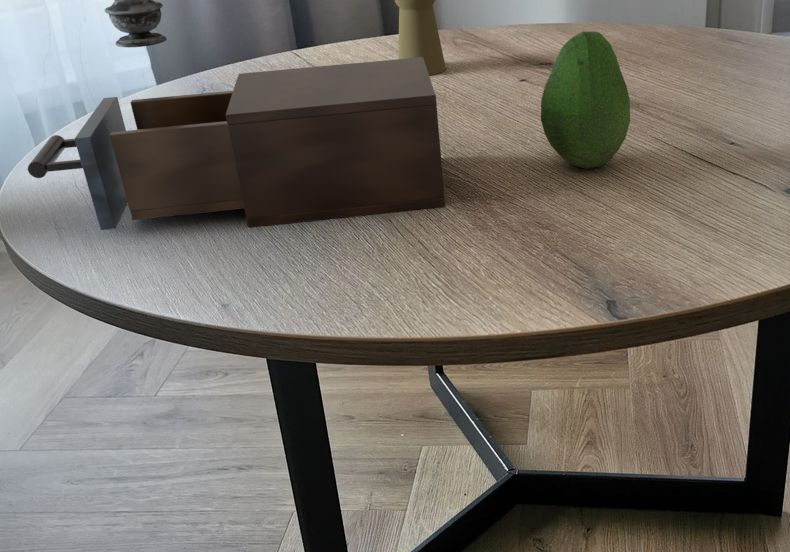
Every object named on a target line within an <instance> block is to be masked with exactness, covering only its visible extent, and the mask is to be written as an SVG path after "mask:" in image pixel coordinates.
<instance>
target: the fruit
mask: <svg viewBox="0 0 790 552" xmlns="http://www.w3.org/2000/svg"><path fill="white" fill-rule="evenodd" d="M543 87H544V88H543V92H542V96H541V99H540V104H541V105H540V121H541V126H542V129H543V133H544V135H545V138H546V139H547V142H548V143H549V145H550V147H551V148H552V149H553V150H554V151H555V152H556V153H557V154H558V155H559V156H560V157H561V158H562V159H563V160H564V161H567V162H568V163H569V164H571V165H572V166H574V167H579V168H582V169H586V170H588V169H594V168H595V169H596V168H599V167H600V168H601V167H602V166H604V165H605V164H607V163H608V162H609V161H611V160H612V159H613V158H614V157H615V155H616V153H617V152H618V151H619V150H620V148H621V147H622V145H623V144H624V142H625V140H626V137H627V134H628V131H629V127H630V123H631V99H630V98H631V97H630V94H629V91H628V86H627V83H626V81H625V78H624V75H623V73H622V71H621V67H620V64H619V62H618V58H617V56H616V53H615V51H614V49H613V46H612V44H611V43H610V41H608V40H607V39H606V38H605V36H604V35H602V33H600V32H599V31H579V32H578V33H577V34H576V35H574V36H572V37H570V38H569V39H568V40H567V42H565V44H564V45H562V47H561V49H560V51H559V53H558V55H557V57H556V58H555V60H554V64H553V67H552V70H551V72H550V74H549V76H548V79H547V81H546V82H545V84H544V86H543Z"/></svg>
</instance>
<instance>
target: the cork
mask: <svg viewBox="0 0 790 552" xmlns="http://www.w3.org/2000/svg"><path fill="white" fill-rule="evenodd" d="M394 2H395V4H396V6H397V7H398V8H399V9H398V10H399V11H398V12H399V13H398V56H397V59H407V58H418V57H423V59H424V62H425V65H426V68H427V71H428V74H429V77H431V76H434V75H438V74H442V73H443V72H445V71H446V70H447V67H446V62H445V57H444V53H443V52H444V51H443V47H442V43H441V38H440V34H439V29H438V24H437V19H436V13H435V9H434V4H435V2H436V0H394Z"/></svg>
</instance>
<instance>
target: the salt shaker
mask: <svg viewBox="0 0 790 552" xmlns="http://www.w3.org/2000/svg"><path fill="white" fill-rule="evenodd" d="M113 1H114V2H113V3H112V4H111V5H110V6H107V7H106V8H104V12H105V14H108V17H109V20H110V22H111V23H112V24H113V26H114V28H115V29H117V30H118V31H120V32H121V33H125V34H126V35H123V36H120V37H119V38H118V39H117V40H116V41H115V43H114V44H115V46H116V47H120V48H143V47H150V46H155V45H158V44H162V43H164V42H166V41H167V39H168V38H167V36H166V35H163V34H161V33H159V32H152V31H153V30H154V29H157V27H159V24H160V23H161V18H162V10H161V9H162V8H163V7H164V6H163V4H162V2H159V1H155V0H113Z"/></svg>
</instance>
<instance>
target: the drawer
mask: <svg viewBox="0 0 790 552" xmlns="http://www.w3.org/2000/svg"><path fill="white" fill-rule="evenodd" d="M232 93H233V90H226V91H225V90H223V91H214V92H203V93H191V94H181V95H171V96H160V97H151V98H148V97H147V98H139V99H132V100H131V101H130V106H131V110H132V115H133V119H134V122H135V127H136V129H130V130H127V128H126V125H125V121H124V117H123V113H122V109H121V105H120V102H119V98H118V96H111V97H104V98H103V99H102V100H101V101H100V102H99V104H97V107H96V108H95V109H94V111H93V112H92V113H91V115H90V117H88V119H87V121H86V122H85V123H84V125H83V126H82V127H81V129H80V130H79V131H78V132H77V134H76V136H75V137H74V138H66V139H65V138H64V137H63V136H61V135H59V134H53V135H52V136H50V137H49V139H48V140H47V141H46V142H45V144H44V145H43V147H42V148H41V149H40V150H39V151H38V153H36V155H35V156H34V158H33V159H31V161H30V163H29V164H28V166H27V172H28V173H29V175H30V176H31V177H33V178H36V179H42V178H44V177H46V175H47V173H48V172H57V171H58V172H59V171H68V170H81V169H82V170H83V174H84V177H85V181H86V184H87V188H88V192H89V196H90V198H91V201H92V206H93V208H94V212H95V215H96V219H97V223H98V226H99V229H100V231H105V230H115V229H116V228H117V226H118V224H119V222H120V220H121V217H122V216H123V214H124V212H125V209H126V208H127V206H128V210H129V212H130V216H131V219H132V221H136V220H147V219H156V218H157V219H158V218H165V217H166V218H167V217H174V216H175V217H176V216H184V215H185V216H186V215H195V214H204V213H213V212H222V211H223V212H225V211H232V210H233V211H234V210H242V209H244V204H243V199H242V194H241V189H240V184H239V179H238V174H237V169H236V164H235V159H234V154H233V149H232V144H231V140H230V135H229V130H228V124H227V120H226V112H227V109H228V106H229V103H230V100H231V96H232ZM68 148H76V150H77V153H78V156H79V159H72V160H62V161H57V160H58V158H59V157H60V155H61V154H62V153H63V152H64V150H65V149H68Z"/></svg>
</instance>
